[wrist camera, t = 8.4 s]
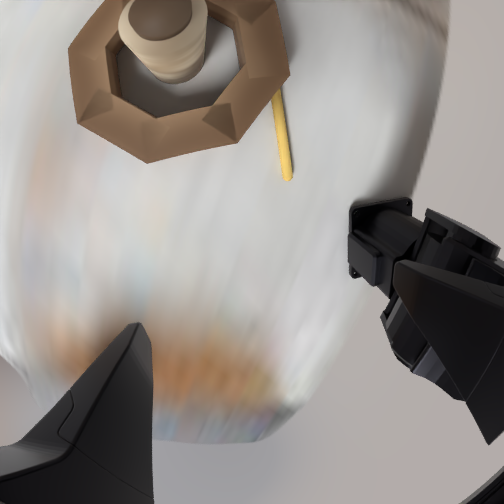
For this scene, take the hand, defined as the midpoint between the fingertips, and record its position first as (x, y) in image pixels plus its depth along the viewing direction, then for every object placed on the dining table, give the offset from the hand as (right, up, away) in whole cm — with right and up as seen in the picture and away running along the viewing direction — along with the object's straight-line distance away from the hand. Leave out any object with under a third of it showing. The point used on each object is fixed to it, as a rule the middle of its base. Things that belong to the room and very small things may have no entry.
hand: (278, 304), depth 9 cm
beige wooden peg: (-6, +14, +6) cm, 16 cm away
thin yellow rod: (+1, +10, +9) cm, 14 cm away
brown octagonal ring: (-6, +14, +6) cm, 16 cm away
